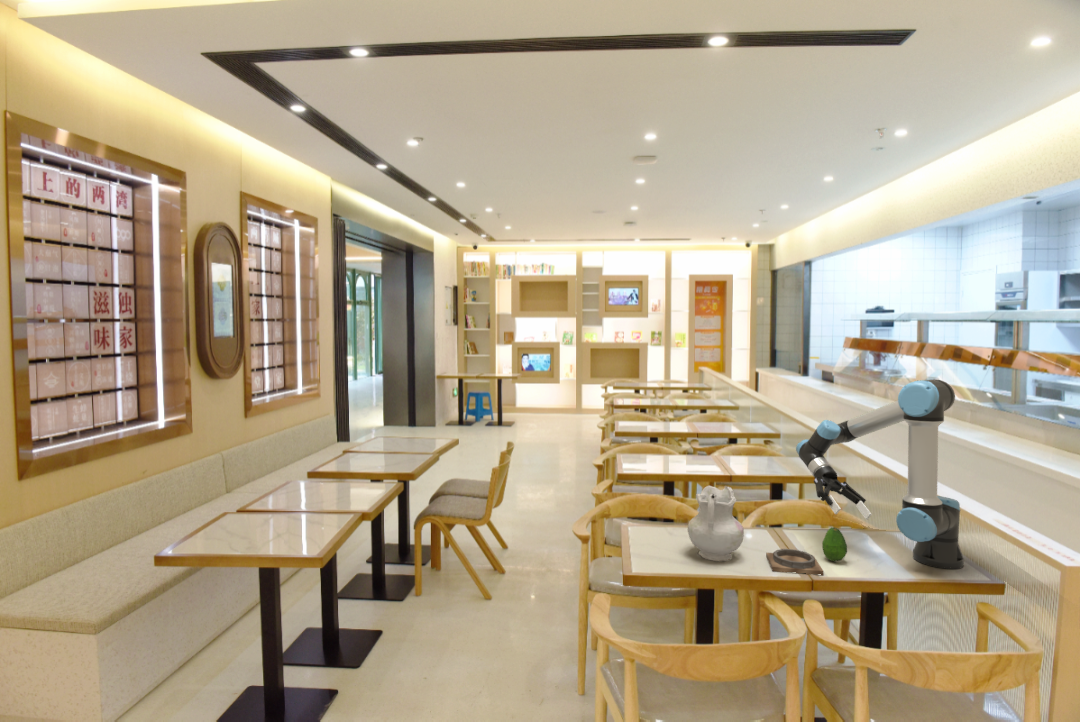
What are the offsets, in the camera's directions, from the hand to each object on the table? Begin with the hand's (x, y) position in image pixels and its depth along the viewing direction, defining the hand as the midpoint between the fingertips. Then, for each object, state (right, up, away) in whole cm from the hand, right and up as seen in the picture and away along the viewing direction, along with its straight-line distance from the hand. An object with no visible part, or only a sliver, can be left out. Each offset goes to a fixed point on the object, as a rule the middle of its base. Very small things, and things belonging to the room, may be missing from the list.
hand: (853, 514), depth 217 cm
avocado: (-6, -17, +1) cm, 18 cm away
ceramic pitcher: (-47, -17, +5) cm, 50 cm away
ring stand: (-23, -17, -4) cm, 28 cm away
